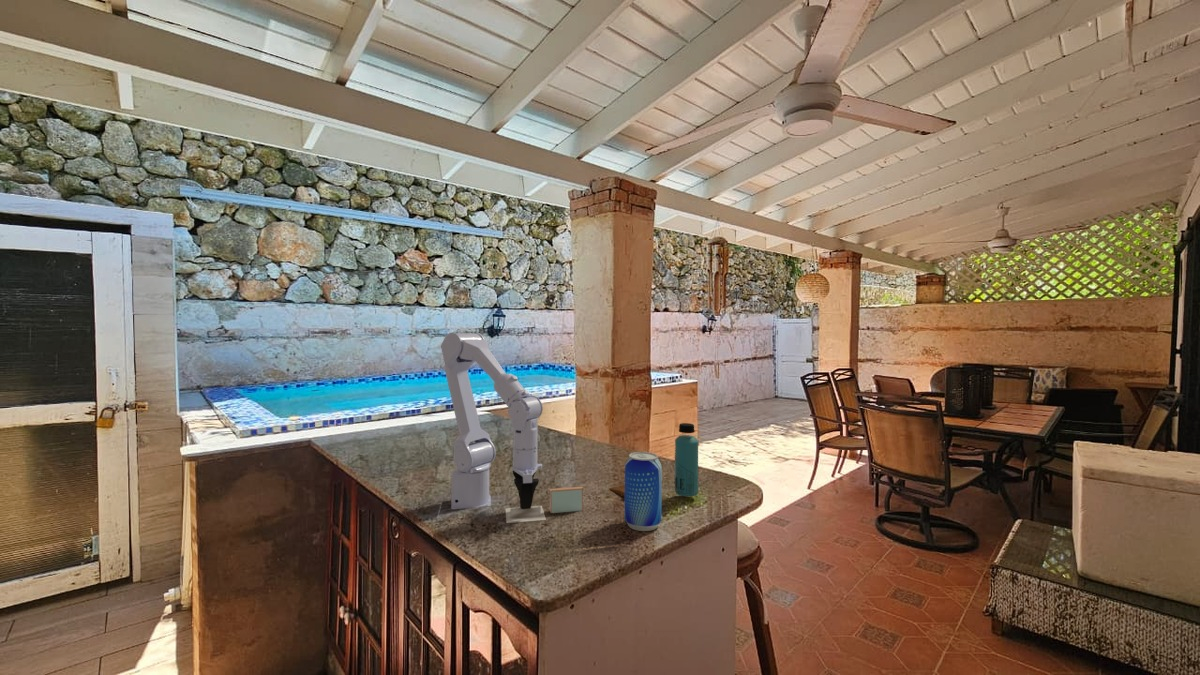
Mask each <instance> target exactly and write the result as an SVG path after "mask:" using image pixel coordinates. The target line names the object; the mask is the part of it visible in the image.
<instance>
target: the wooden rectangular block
mask: <svg viewBox="0 0 1200 675" xmlns="http://www.w3.org/2000/svg"><path fill="white" fill-rule="evenodd" d="M537 506H538V507H531V508H530V509H522V508H521V504H520V503H519V507H520V508H518V507H511V508H512V509H510V517H511V518H522V517H533V516H541V507H540V506H541V505H537Z"/></svg>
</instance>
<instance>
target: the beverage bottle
mask: <svg viewBox="0 0 1200 675" xmlns="http://www.w3.org/2000/svg"><path fill="white" fill-rule="evenodd" d="M678 432H679V433H682V434H681V435H679V436H677V437H676V438H675V440H674V446H675V448H674V475H673V476H674V492H675V493H676V494H677V495H679V496H681V497H695V496H696V497H697V496H698V494H699V490H700V489H699V472H700V471H699V440H698V439H697V437H695V436H694V435H691V434H694V433H695V424H693V423H688V422H685V423H684V422H683V423H680V424H679V425H678Z"/></svg>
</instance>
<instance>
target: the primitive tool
mask: <svg viewBox="0 0 1200 675" xmlns="http://www.w3.org/2000/svg"><path fill="white" fill-rule="evenodd" d="M608 490H610V491H611V492H613V493H616V494H618V495H619V496H620V497H622V496H623V498H624V499H625V484H623V485H622V484H621V485H618V486H611V487H609V489H608Z"/></svg>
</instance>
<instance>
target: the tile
mask: <svg viewBox="0 0 1200 675" xmlns="http://www.w3.org/2000/svg"><path fill="white" fill-rule="evenodd" d="M583 501H584V487H583V486H574V487H573V486H572V487H559V488H549V513H550V514H556V513H559V514H560V513H569V512H570V513H571V512H581V511H583V510H584V502H583Z"/></svg>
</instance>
